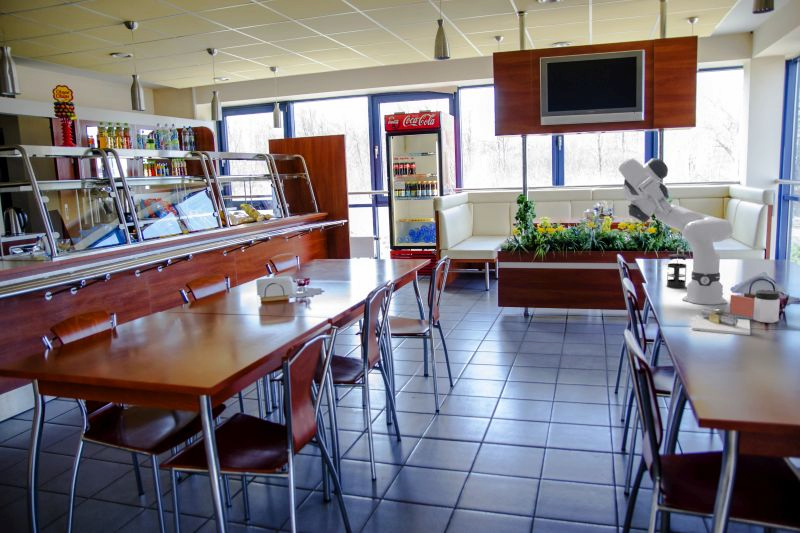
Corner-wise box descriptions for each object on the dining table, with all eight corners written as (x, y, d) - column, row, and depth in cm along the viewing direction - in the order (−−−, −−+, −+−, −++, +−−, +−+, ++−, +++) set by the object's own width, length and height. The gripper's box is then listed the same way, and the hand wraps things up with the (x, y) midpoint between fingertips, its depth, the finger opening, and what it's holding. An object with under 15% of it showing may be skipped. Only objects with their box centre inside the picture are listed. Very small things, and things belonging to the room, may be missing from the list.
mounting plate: (695, 317, 265) (695, 315, 265) (749, 322, 256) (749, 319, 256) (691, 330, 246) (692, 327, 246) (750, 335, 237) (750, 332, 236)
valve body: (698, 318, 261) (699, 309, 260) (708, 316, 262) (709, 308, 262) (729, 326, 245) (729, 318, 245) (739, 325, 247) (740, 317, 246)
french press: (686, 289, 327) (688, 245, 323) (667, 288, 330) (669, 244, 327) (684, 285, 338) (686, 242, 334) (665, 284, 341) (667, 242, 337)
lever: (711, 312, 254) (712, 292, 253) (718, 311, 256) (719, 291, 255) (748, 320, 240) (749, 299, 239) (755, 318, 242) (756, 298, 240)
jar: (770, 324, 252) (772, 294, 251) (749, 320, 259) (751, 291, 257) (781, 320, 257) (783, 292, 255) (761, 317, 264) (763, 289, 262)
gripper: (646, 200, 275) (667, 222, 268) (637, 185, 258) (660, 209, 251) (658, 190, 273) (680, 213, 267) (650, 175, 256) (673, 198, 249)
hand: (670, 211), depth 259 cm, fingers closed
